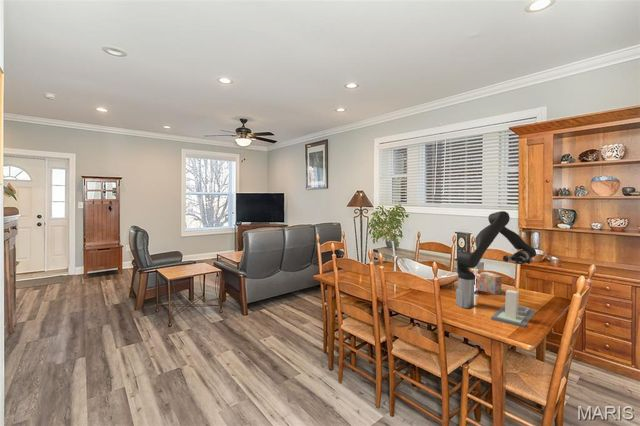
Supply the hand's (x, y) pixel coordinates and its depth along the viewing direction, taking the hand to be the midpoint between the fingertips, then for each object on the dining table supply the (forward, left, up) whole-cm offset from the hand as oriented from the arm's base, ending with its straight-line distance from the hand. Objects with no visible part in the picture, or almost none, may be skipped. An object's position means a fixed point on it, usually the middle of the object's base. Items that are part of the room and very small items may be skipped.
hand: (513, 261), depth 190 cm
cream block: (-16, -17, -26) cm, 35 cm away
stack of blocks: (+8, +33, -28) cm, 45 cm away
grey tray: (-10, -13, -28) cm, 32 cm away
